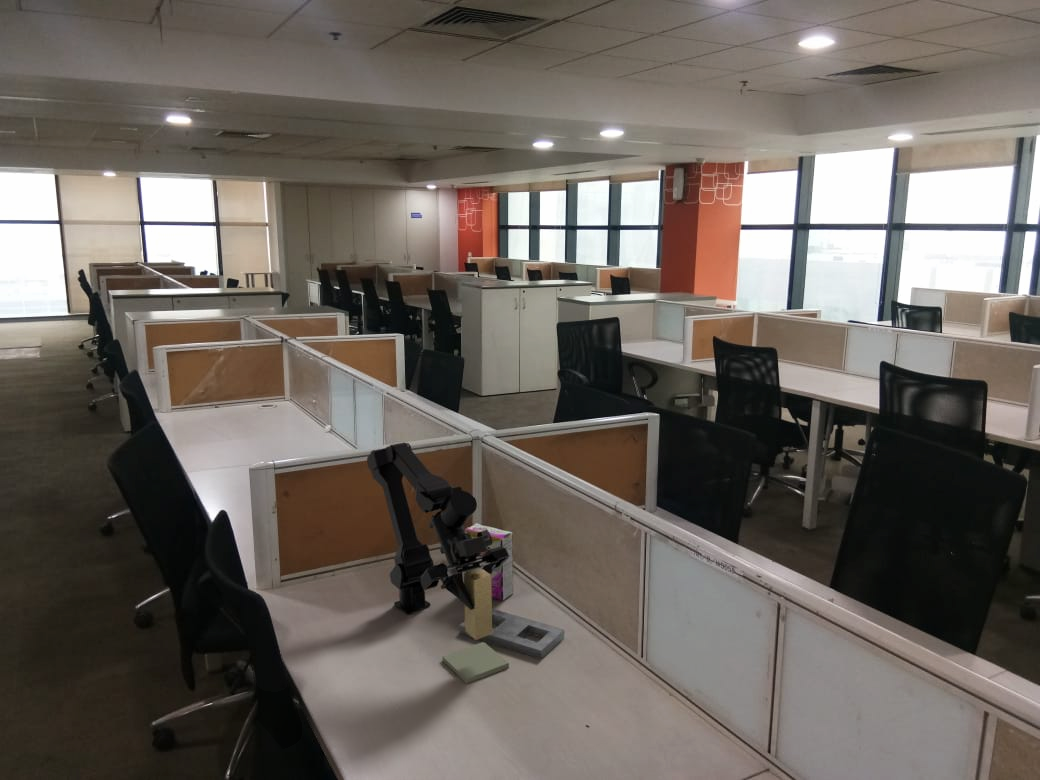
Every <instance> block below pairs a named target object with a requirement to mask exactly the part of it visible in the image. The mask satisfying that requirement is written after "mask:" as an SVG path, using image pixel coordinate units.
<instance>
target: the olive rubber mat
mask: <svg viewBox="0 0 1040 780" xmlns="http://www.w3.org/2000/svg"><path fill="white" fill-rule="evenodd" d="M442 662H443V663H444V664H446V665H447V667H448V668H450V670H451V671H453V672H454V673H455V674H456V675H457V676H458V677H459V678H460V679H461V680H462V681H463V682H465V684H468V683H469V684H470V683H472V682H474V681H477V680H479V679H481V678H484V677H487V676H490V675H493V674H495V673H497V672H500V671H503V670H505V669H508V668H510V662H508V661H507V660H506V659H505V658H504V657H502V656H501V655H500V654H499V653H498V652H496V651H495V650H494V649H493V648H492V647H491V646H490V645H488V644H487V642H485V641H482V642H480V643H476V644H473V645H470V646H468V647H465V648H462V649H459V650H457V651H453V652H451V653H448V654H444V655H442Z"/></svg>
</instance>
